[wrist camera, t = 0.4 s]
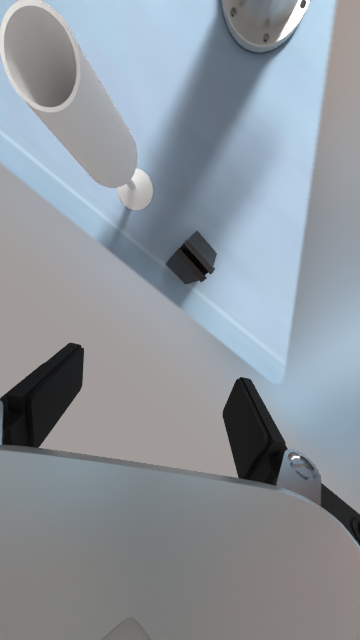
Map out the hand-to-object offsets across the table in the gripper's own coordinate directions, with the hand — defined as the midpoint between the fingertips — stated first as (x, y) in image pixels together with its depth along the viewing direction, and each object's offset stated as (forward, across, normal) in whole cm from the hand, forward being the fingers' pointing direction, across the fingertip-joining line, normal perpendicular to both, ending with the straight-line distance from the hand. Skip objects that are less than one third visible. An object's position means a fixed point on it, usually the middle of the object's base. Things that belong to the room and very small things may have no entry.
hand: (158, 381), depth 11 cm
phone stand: (+31, -2, -6) cm, 32 cm away
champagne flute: (+31, +11, -16) cm, 37 cm away
